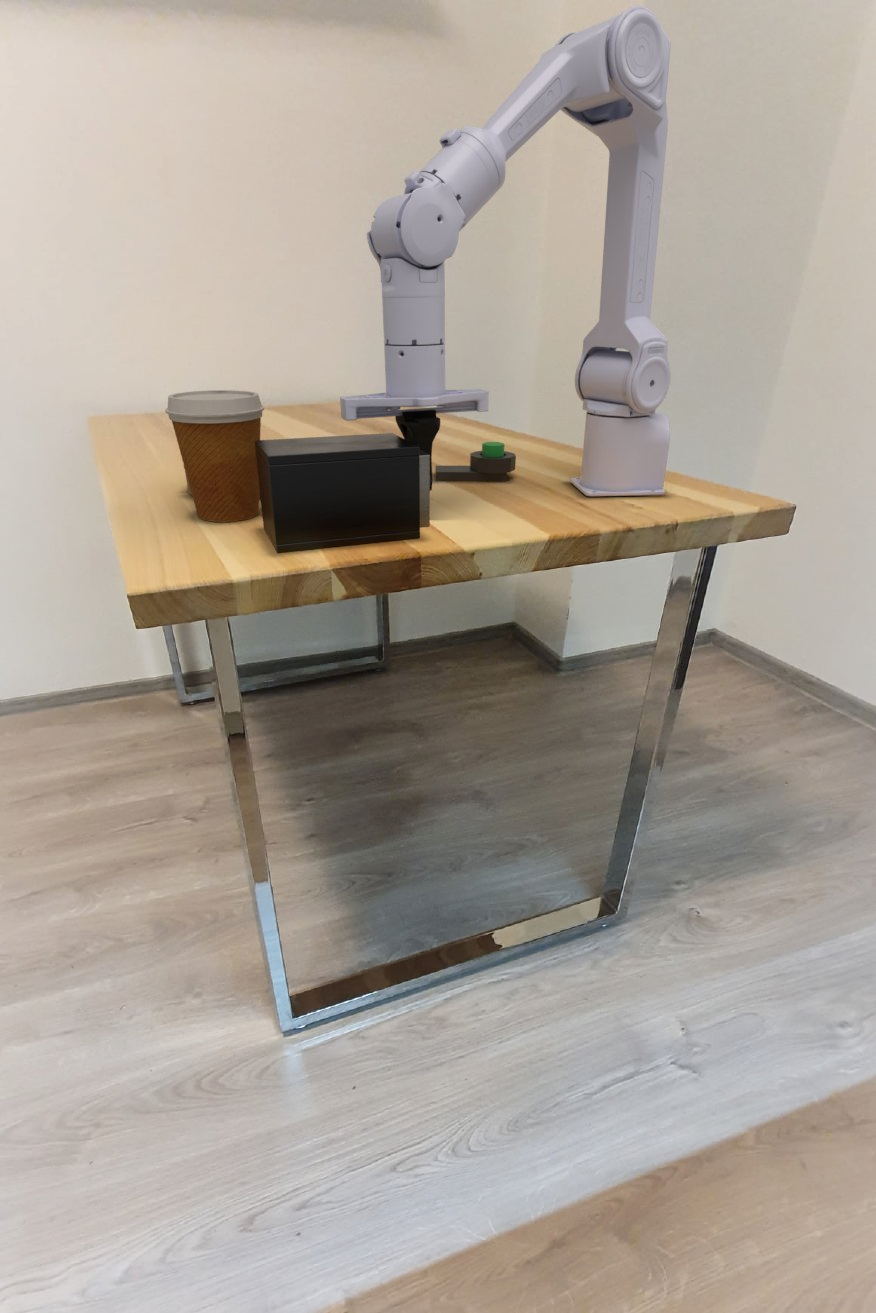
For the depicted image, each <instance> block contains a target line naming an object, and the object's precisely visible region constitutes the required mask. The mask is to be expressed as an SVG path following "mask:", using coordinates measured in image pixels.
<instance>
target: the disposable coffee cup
mask: <svg viewBox="0 0 876 1313" xmlns="http://www.w3.org/2000/svg"><path fill="white" fill-rule="evenodd" d="M263 411H265V406H264V405H263V404H262V402H261V399H260V396H259V393H258V392H255V391H249V390H235V389H233V390H232V389H220V390H219V389H218V390H217V389H216V390H215V389H214V390H213V389H211V390H193V391H192V390H191V391H186V392H185V391H184V392H177V393H173V394H169V395H168V396H167V408H165V409H164V412H165V413H166V414H167V416H168V419H169V420H170V421H171V423H172V428H173V430H174V435H175V438H176V443H177V444H178V449H179V452H180V456H181V460H182V463H184V464H183V468H184V467H185V469H184V472H185V471H186V474H187V479H188V482H189V485H190V489H191V492H192V495H191V497H192V499H193V504H194V507H195V511H196V515H197V518H198V519H200V520H203V521H208V522H216V523H228V522H238V521H243V520H248V519H250V518H254V517H256V516H257V515H258V514H259V513H260V498H259V479H258V470H257V460H256V449H255V440H261V423H262V417H263ZM186 474H185V475H186Z"/></svg>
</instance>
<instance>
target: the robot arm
mask: <svg viewBox="0 0 876 1313" xmlns="http://www.w3.org/2000/svg"><path fill="white" fill-rule="evenodd" d="M671 46H672V42H671V40H670V38H669V37H668V35H667V33H666V32H665V30H664V28H663V26H662V25H661V23H660V21H659V19H658V18H657V16H656V15H655V13H654V12H653V11H652V10H651V9H650V8H648V7H646V6H643V5H633V6H631V7H629V8H627V9H625V10H624V11H622V12H621V13H620V14H618V15H615V16H613V17H610V18H608V19H606V20H603V21H601V22H599V23H598V22H597V23H596V24H594V25H591V26H589V27H587V28H583V29H582V30H580V31H577V32H569V33H568V34H567V33H566V34H565V35H563V36H562V37H561V38H559V40H557V42H556V43H555V44H554V46H552V47H550V48H549V49H547V50H546V51H544V52H543V53H542V54H541V55H540V58H539V59H538V61H537V62H536V64H535V65H534V66H533V67H532V68H531V69H530V71H529V72H528V73H527V74H526V75H525V77H524V78H523V79H522V80H521V81H520V82H519V84H518V85H517V86H515V88H514V90H513V91H512V92H511V93H510V94H509V95H508V96H507V98H505V100H504V101H503V102H502V103H501V105H500V106H499V107H498V108H497V110H495V111H494V113H493V114H492V115H491V116H490V118H489V119H488V120H487V121H486V122H485V123H484V125H483V126H482V127H481V128H480V127H477V126H473V125H472V126H470V125H465V126H463V127H461V128H456V127H455V128H452V129H450V130H447V131H446V132H445V133H444V134H443V135H442V136H441V137H440V138H439V140H438V141H439V143H440V145H441V147H442V148H440V149H439V151H438V152H437V153H436V154H435V155H434V156H433V157H432V158H431V159H430V160H429V161H428V162H427V163H426V164H425V165H424V166H423V168H422V169H421V170H420V171H418V170H415V171H412V172H410V173H409V174H408V175H407V176H406V177H405V178H404V184H405V187H404V193H403V194H400V195H395V196H391V197H389V198H387V199H384V201H382V202H381V203H380V204H379V205H378V206H377V208H376V210H375V212H374V214H373V216H372V217H373V218H374V219H373V221H371V225H370V230H369V231H367V232H366V240H367V245H368V248H369V250H370V253H371V254H372V256H373V258H374V259H375V260H376V262H377V264H378V266H379V272H380V283H381V301H382V304H381V305H382V325H383V326H382V327H383V328H382V329H383V344H384V345H383V349H384V350H383V351H384V373H385V374H384V375H385V377H384V378H385V392H378V393H370V394H369V393H368V394H360V395H359V394H358V395H350V396H340V397H339V405H340V418H341V419H343V420H344V421H348V422H349V421H358V420H359V419H374V418H389V417H395V418H394V419H395V422H396V425H397V427H398V429H399V431H400V432H401V435H402V438H403V439H405V440H407V441H409V442H411V443H413V444H415V445H416V446H418V447H419V450H421V451H423V452H425V453H426V454H428V455H430V477H431V480H432V481H433V464H432V463H433V462H432V454H433V442H434V441H435V438H436V437H437V435H438V433H439V431H440V428H441V418H440V417H439V416H437V414H449V413H465V412H478V413H484V412H485V413H486V412H489V397H490V394H489V392H490V391H489V390H486V389H482V388H476V389H475V388H473V389H471V388H470V389H446V310H445V309H446V308H445V307H446V306H445V305H446V303H445V302H446V301H445V300H446V299H445V298H446V297H445V296H446V293H445V292H446V291H445V290H446V289H445V288H446V286H445V285H446V284H445V282H446V281H445V275H446V274H445V273H446V272H445V268H446V267H445V261H446V260H448V259H450V258H452V257H453V255H454V254H455V252H456V249H457V246H458V243H459V235H460V232H461V231H462V230H463V229H464V228H465V227H466V225H468V224H469V223H470V222H471V220H472V219H473V218H474V217H475V216H476V215H477V214H478V213H479V211H480V210H481V209H483V208H484V206H485V205H486V204H487V203H488V202H489V201H490V200H491V199H492V198H493V197H494V196H495V194H496V193H498V192H499V191H500V189H501V188H502V187H503V185H504V183H505V180H506V174H507V173H506V172H507V171H506V170H507V169H506V168H507V167H506V162H507V161H508V160H509V159H511V157H512V156H513V155H514V154H515V153H517V152H518V151H519V150H520V149H521V148H522V147H523V146H524V145H525V144H526V143H527V142H528V141H529V140H531V138H532V137H533V136H534V135H535V134H536V133H537V132H539V130H540V129H541V128H542V127H544V126H545V125H546V124H547V123H548V122H549V121H550V120H551V119H552V118H553V117H554V116H555V115H556V114H557V113H559V112H560V111H561V112H562V113H563V114H565V115H566V116H568V117H569V118H570V119H572V120H574V122H576V123H577V124H579V125H580V126H582V127H583V128H585V129H586V130H588V131H589V132H590V133H592V134H593V135H594V136H596V137H598V138H599V139H600V141H601V142H602V143H603V144H604V146H605V147H606V148H607V150H608V152H609V154H608V155H609V156H608V157H609V158H608V170H607V172H608V173H607V189H606V202H605V203H606V204H605V219H604V236H603V252H602V268H601V281H600V282H601V285H600V296H599V297H600V299H599V315H598V321H597V323H596V324H595V325H594V327H593V328H592V329H591V330H590V331H589V332H588V333H587V334H586V336H585V337H584V339H583V341H582V353H581V356H580V359H579V362H578V365H577V367H576V370H575V373H574V374H575V375H574V388H575V391H576V394H577V396H578V398H579V399H580V401H582V410H583V411H586V413H585V414H586V415H585V423H584V424H585V425H584V435H583V446H582V455H581V456H582V457H581V468H580V477H571V478H570V479H569V483H571V485H573V486H574V487H575V488H577V489H578V490H579V491H580V492H581V493H582V494H584V496H586V497H625V496H628V497H631V496H665V495H666V490H664V484H665V477H666V471H667V464H668V456H669V450H670V441H671V428H670V427H671V426H670V421H669V419H668V417H667V416H666V415H665V414H664V413H659V412H656V410H657V409H658V407H660V406H661V404H662V403H663V402H664V400H665V398H666V397H667V395H668V392H669V388H670V384H671V368H670V364H669V359H668V347H669V340H668V338H667V337H666V336H665V335H664V334H663V333H662V331H661V330H660V329H659V328H658V327H657V326H656V325H655V323H653V321H652V320H651V313H652V304H653V291H654V280H655V271H656V270H655V269H656V260H657V248H658V238H659V237H658V236H659V226H660V218H661V217H660V215H661V206H662V197H663V196H662V195H663V194H662V193H663V184H664V173H665V164H666V163H665V161H666V153H667V152H666V151H667V143H668V142H667V141H668V131H669V130H668V127H669V126H668V125H669V118H668V116H669V115H668V108H667V91H668V80H669V69H670V68H669V67H670V58H671V49H672V48H671ZM617 349H624V350H617ZM625 350H626V351H625ZM401 408H402V409H401ZM403 408H405V409H403ZM431 491H433V488H432V489H431Z"/></svg>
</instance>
